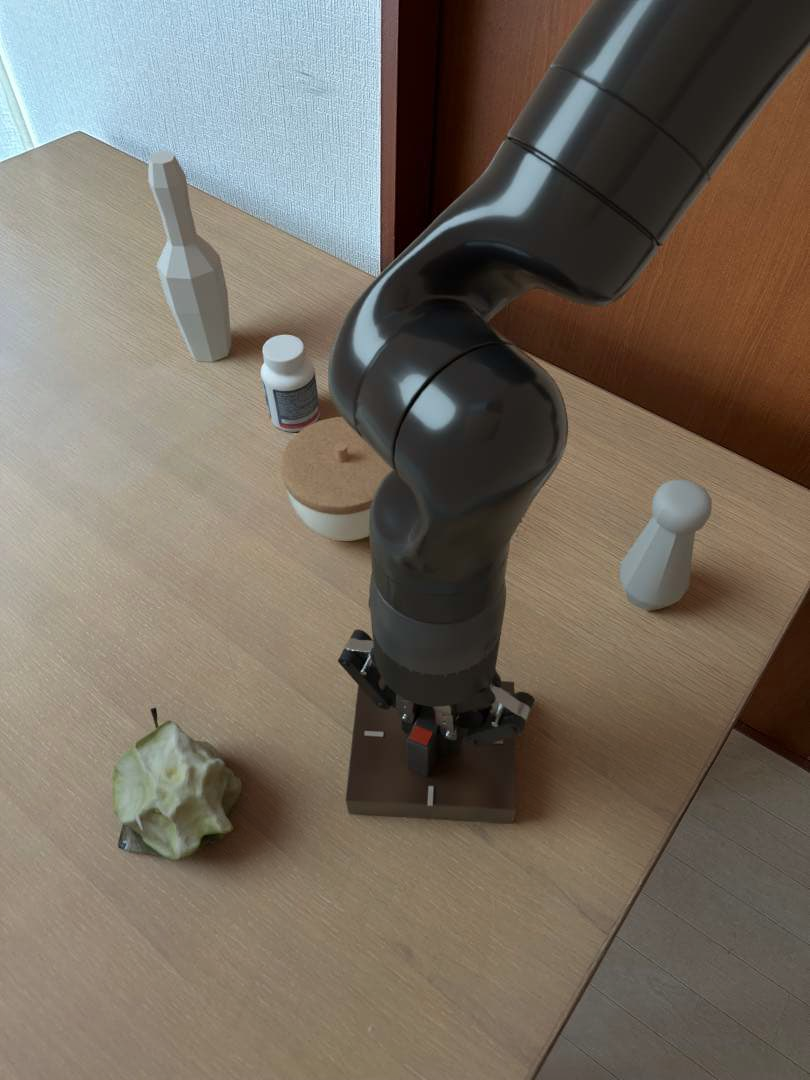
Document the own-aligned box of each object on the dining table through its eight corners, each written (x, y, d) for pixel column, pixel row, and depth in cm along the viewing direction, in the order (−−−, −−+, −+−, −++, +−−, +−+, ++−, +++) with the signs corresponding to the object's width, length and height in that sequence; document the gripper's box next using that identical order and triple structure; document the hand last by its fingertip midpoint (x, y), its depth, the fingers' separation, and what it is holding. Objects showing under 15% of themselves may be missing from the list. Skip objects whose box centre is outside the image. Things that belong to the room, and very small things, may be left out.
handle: (439, 699, 63) (440, 666, 59) (458, 707, 63) (461, 674, 58) (407, 769, 60) (406, 739, 56) (427, 777, 59) (428, 748, 55)
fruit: (139, 758, 65) (125, 696, 60) (257, 773, 65) (254, 712, 60) (97, 871, 58) (77, 812, 53) (228, 888, 58) (222, 831, 53)
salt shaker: (616, 559, 74) (648, 460, 64) (681, 569, 74) (724, 471, 63) (612, 613, 71) (645, 518, 61) (681, 624, 70) (726, 530, 60)
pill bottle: (331, 414, 86) (322, 346, 79) (293, 441, 84) (281, 374, 77) (296, 390, 88) (285, 322, 81) (259, 416, 86) (244, 348, 79)
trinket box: (377, 459, 82) (372, 388, 75) (425, 536, 76) (425, 467, 69) (275, 495, 80) (260, 425, 72) (316, 578, 74) (304, 511, 66)
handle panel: (510, 697, 66) (514, 679, 64) (512, 825, 60) (516, 810, 58) (361, 689, 67) (359, 671, 65) (348, 815, 61) (345, 800, 58)
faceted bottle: (184, 371, 90) (127, 180, 73) (179, 335, 94) (124, 144, 77) (242, 362, 91) (200, 170, 74) (235, 326, 95) (193, 135, 77)
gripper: (572, 602, 47) (537, 728, 61) (356, 527, 51) (369, 663, 65) (530, 713, 43) (503, 822, 57) (299, 624, 47) (326, 747, 61)
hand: (432, 737), depth 61 cm, fingers closed on handle
